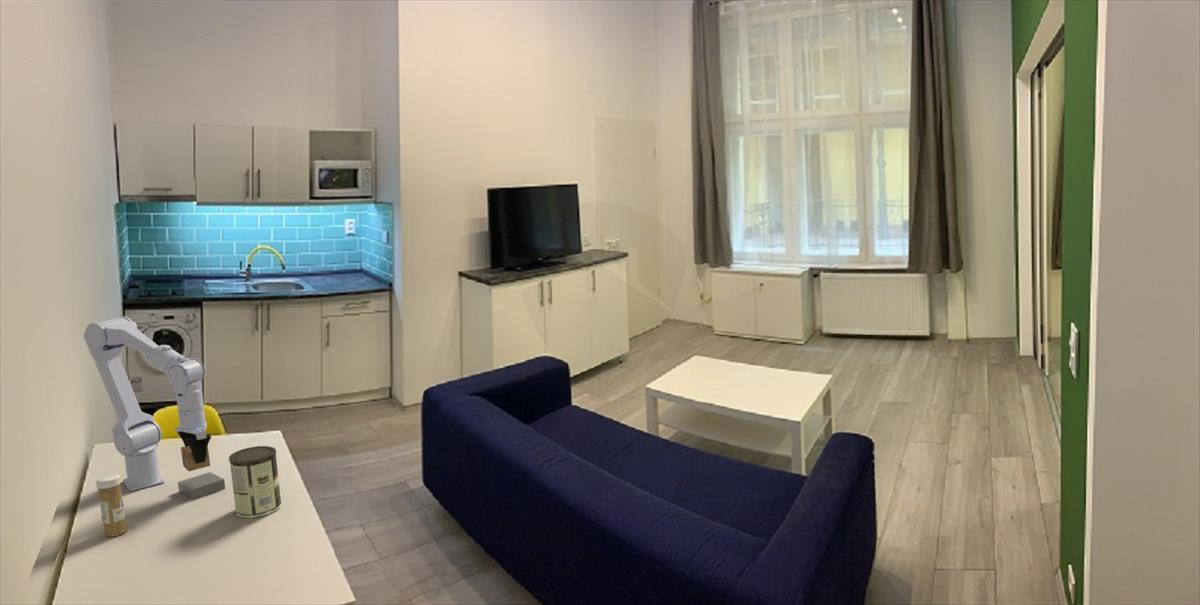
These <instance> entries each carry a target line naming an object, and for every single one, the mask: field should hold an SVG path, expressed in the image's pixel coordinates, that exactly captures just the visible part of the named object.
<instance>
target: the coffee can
mask: <svg viewBox="0 0 1200 605" xmlns="http://www.w3.org/2000/svg"><path fill="white" fill-rule="evenodd" d="M228 461H229V465H230V473H231V474H230V475H231V482H232V490H233V497H234V506H235V515H236V516H237V517H239V518H242V517H243V519H255V518H256V517H257V518H262V517H264V516H268V515H271V514H273V513H275V512H277V511H278V510H279V509H280V508H282V499H281V498H282V497H281V491H280V490H281V489H280V479H279V472H278V471H279V470H278V463H277V449H276V448H275V447H273V446H268V445H261V446H260V445H259V446H251V447H246V448H242V449H239V450H237V451H235V452H233V453H231V454H230V455H229V457H228Z"/></svg>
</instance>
